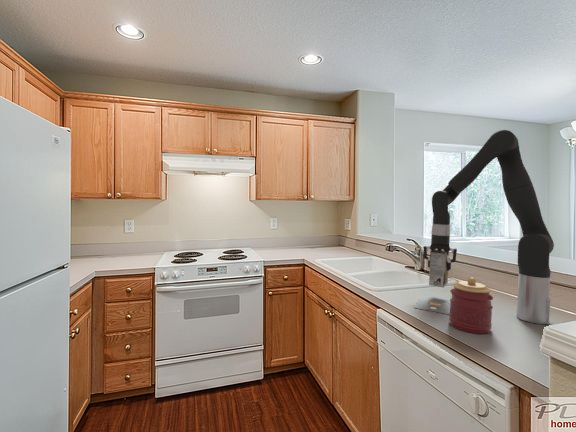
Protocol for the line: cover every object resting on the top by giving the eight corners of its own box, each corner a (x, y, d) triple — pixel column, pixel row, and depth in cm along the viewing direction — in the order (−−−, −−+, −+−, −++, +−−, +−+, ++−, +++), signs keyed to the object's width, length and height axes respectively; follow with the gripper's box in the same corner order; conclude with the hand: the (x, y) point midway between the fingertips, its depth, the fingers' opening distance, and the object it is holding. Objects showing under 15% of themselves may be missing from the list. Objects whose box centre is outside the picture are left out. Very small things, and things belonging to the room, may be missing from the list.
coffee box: (433, 281, 143) (434, 248, 143) (448, 283, 139) (449, 249, 139) (428, 285, 136) (429, 250, 136) (443, 287, 132) (445, 252, 132)
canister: (501, 333, 100) (503, 281, 99) (468, 336, 97) (471, 283, 97) (470, 318, 113) (472, 272, 112) (440, 320, 110) (442, 273, 109)
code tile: (453, 305, 128) (453, 304, 128) (452, 315, 116) (452, 314, 116) (418, 299, 135) (418, 298, 135) (413, 308, 123) (413, 307, 123)
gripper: (458, 234, 136) (456, 270, 137) (424, 232, 144) (423, 266, 144) (458, 236, 130) (456, 273, 131) (422, 233, 137) (421, 268, 138)
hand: (438, 269), depth 138 cm, fingers closed on coffee box, 7 cm apart
